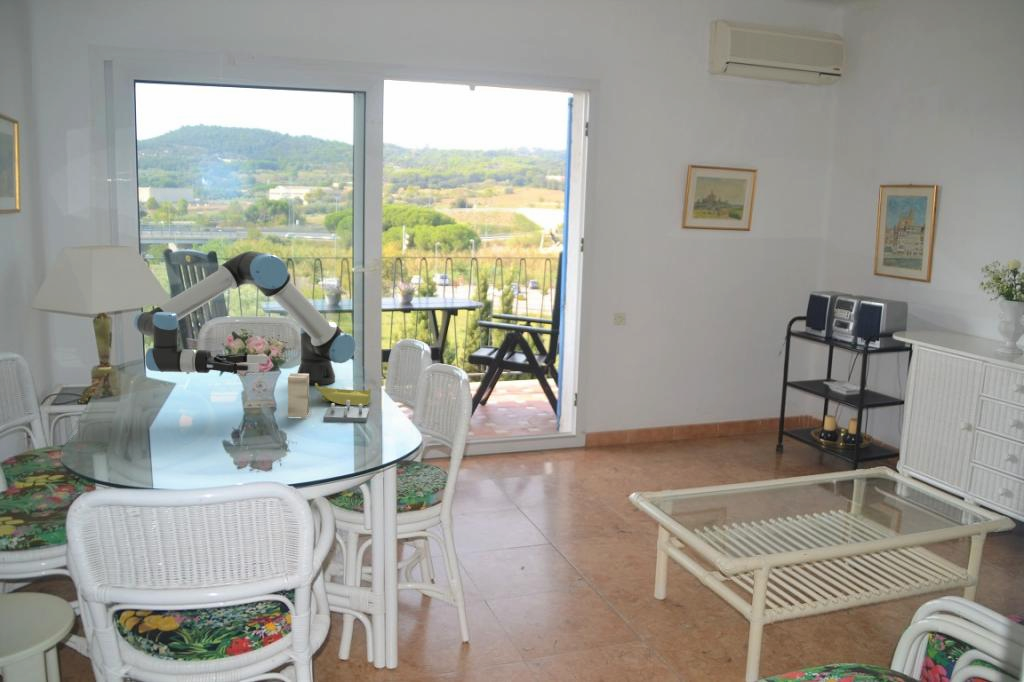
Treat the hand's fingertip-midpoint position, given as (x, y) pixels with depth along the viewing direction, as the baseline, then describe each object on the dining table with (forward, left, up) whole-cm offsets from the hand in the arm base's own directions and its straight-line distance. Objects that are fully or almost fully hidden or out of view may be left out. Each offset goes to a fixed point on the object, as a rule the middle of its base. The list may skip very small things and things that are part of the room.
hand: (263, 363), depth 271 cm
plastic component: (-21, +24, -18) cm, 37 cm away
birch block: (0, +12, -18) cm, 21 cm away
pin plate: (0, +28, -18) cm, 33 cm away
